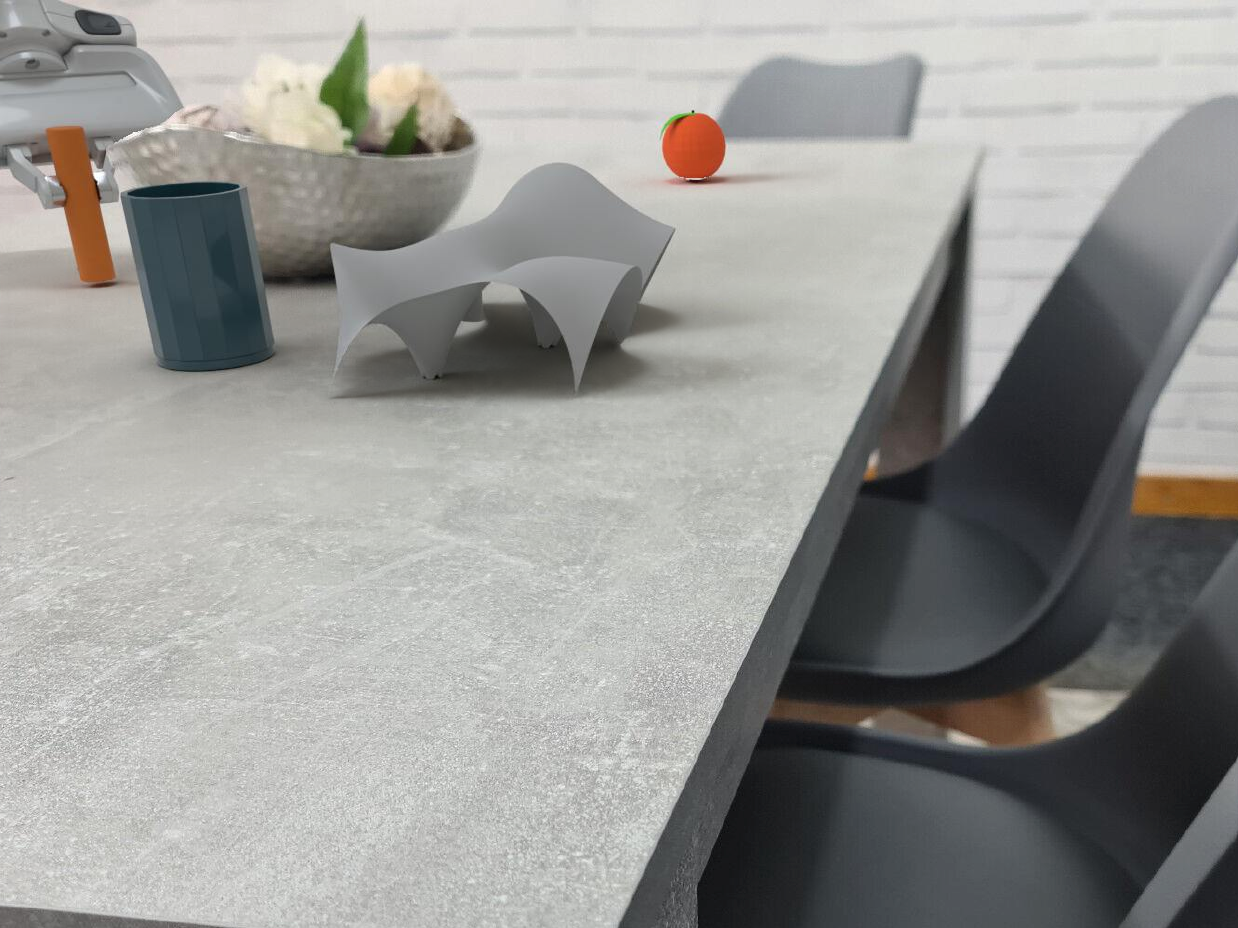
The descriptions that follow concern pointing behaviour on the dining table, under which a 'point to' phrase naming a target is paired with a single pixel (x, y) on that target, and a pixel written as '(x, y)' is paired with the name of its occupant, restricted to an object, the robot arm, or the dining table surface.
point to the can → (199, 274)
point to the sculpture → (510, 270)
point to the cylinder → (81, 203)
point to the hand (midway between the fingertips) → (83, 200)
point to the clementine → (693, 145)
